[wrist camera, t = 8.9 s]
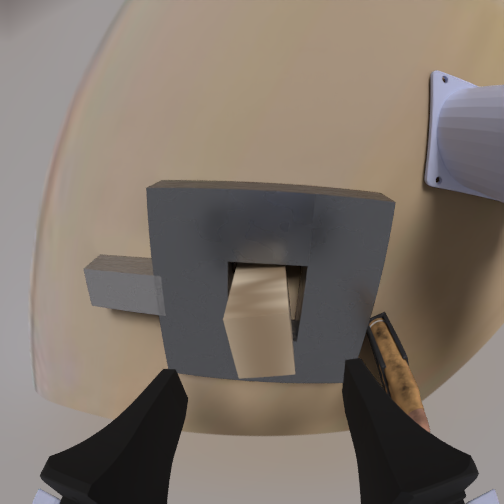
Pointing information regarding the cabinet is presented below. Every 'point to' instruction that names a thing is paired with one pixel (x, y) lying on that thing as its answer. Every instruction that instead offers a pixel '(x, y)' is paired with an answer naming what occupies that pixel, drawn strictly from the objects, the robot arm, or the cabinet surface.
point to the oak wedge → (260, 321)
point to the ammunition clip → (395, 369)
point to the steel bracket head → (253, 251)
